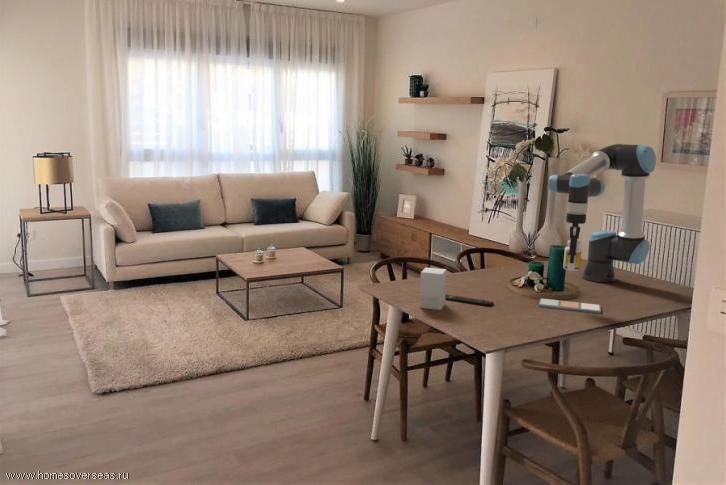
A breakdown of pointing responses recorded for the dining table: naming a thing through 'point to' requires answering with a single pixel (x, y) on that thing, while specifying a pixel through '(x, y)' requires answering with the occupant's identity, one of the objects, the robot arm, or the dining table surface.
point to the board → (570, 305)
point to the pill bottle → (578, 256)
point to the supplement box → (433, 288)
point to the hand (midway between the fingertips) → (571, 268)
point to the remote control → (469, 300)
